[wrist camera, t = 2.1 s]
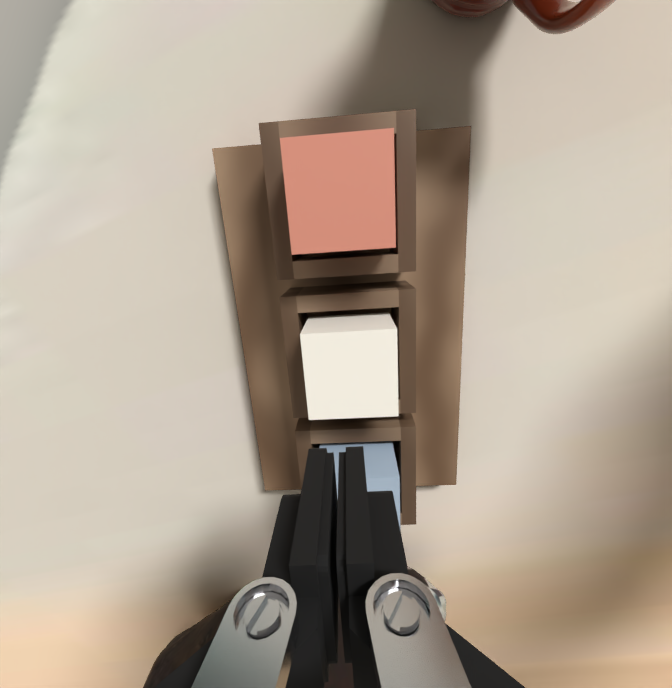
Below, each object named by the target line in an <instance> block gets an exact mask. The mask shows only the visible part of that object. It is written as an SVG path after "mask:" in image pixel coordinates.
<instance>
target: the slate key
mask: <svg viewBox="0 0 672 688" xmlns="http://www.w3.org/2000/svg"><path fill="white" fill-rule="evenodd" d="M356 446H363V450H364V461H365V472H366V483H367V492H369V491H392V492H393V496H394V501H395V506H396V511H397V516H398V521H399V527H400V477H399V472H398V467H397V462H396V457H395V452H394V448H393V443H392V441H374V442H348V443H321V444H320V447H319V448H327V453H332V452H333V453H334V462H335V474H336V486H337V499H338V469H339V452H346V447H356Z"/></svg>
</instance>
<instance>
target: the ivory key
mask: <svg viewBox="0 0 672 688" xmlns="http://www.w3.org/2000/svg"><path fill="white" fill-rule="evenodd" d="M300 340H301V350H302V360H303V369H304V379H305V389H306V398H307V408H308V418H309V420H322V419H346V418H370V417H394V416H399V410H398V348H397V328H396V326H395V324H394V322H393V320H392V318H391V316H390V314H389V312H385V313H368V314H351V315H334V316H317V317H308V319H307V321H306V323H305V325H304V327H303V329H302V331H301V333H300Z"/></svg>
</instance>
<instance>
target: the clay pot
mask: <svg viewBox="0 0 672 688" xmlns="http://www.w3.org/2000/svg"><path fill="white" fill-rule="evenodd" d="M407 568H408V574H409V575H410V576H413V577H415V578H416V579H418V580H420V581H422V582H423V583H424V584H425V585H426V586H427V587H428V588H429V589H430V591H431V593H432V594H433V596H434V598H435V600H436V602H437V604H438V607H439V609H440V612H441V614H442V617H443V619H444V622H445V618H446V599H445V596H444V595H443V593H442V592H440V591H439V590H438V589H437V588H435V587H434V586H433V585H432V584H431V583H430V582H429V581H428V580H426V579H425V578H424V577H423V576H421V575H420V574H419V573H417V572H416V571H415V570H413V569H412V568H410V567H408V566H407ZM232 600H233V599H232ZM232 600H230V601H229V602H228V603H226V604H225V605H224V606H222V607H221V608H220V609H218V610H217V611H215V612H214V613H212V614H210V615H209V616H207V617H205V618H204V619H202V620H201V621H200V622H198V623H197V624H195V625H194V626H192V627H191V628H189V629H187V630H185V631H184V632H182V633H180V634H179V635H177V636H176V637H175V638H174V639H173V640H172V641H171V642H170V643H169V644H168V645H167V647H166V648H165V649H164V650H163V651H162V652H161V653H160V655H159V656H158V658H157V659H156V661H155V662H154V664H153V667H152V669H151V671H150V673H149V675H148V677H147V680H146V682H145V684H144V686H143V688H154V687H155V686H156V685H158V684H159V683H160V682H161V681H162V680H164V679H165V678H166V677H167V676H168V675H170V674H171V673H172V672H173V671H174V670H176V669H177V668H178V667H179V666H180V665H181V664H183V663H184V662H185V661H186V660H187V659H189V658H190V657H191V656H192V655H193V654H195V653H196V652H197V651H198V650H199V649H201V648H202V647H203V646H204V645H205V644H207V643H208V642H209V641H210V640H211V639H213V638H214V637H215V635H216V633H217V630H218V628H219V626H220V624H221V622H222V620H223V617H224V615H225V613H226V611H227V609H228V606H229V605H230V603H231V601H232ZM324 688H354V681H353V668H352V663H345V659H344V647H343V636H342V625H341V613H340V602H339V625H338V663H337V664H329V682H325V683H324Z"/></svg>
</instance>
